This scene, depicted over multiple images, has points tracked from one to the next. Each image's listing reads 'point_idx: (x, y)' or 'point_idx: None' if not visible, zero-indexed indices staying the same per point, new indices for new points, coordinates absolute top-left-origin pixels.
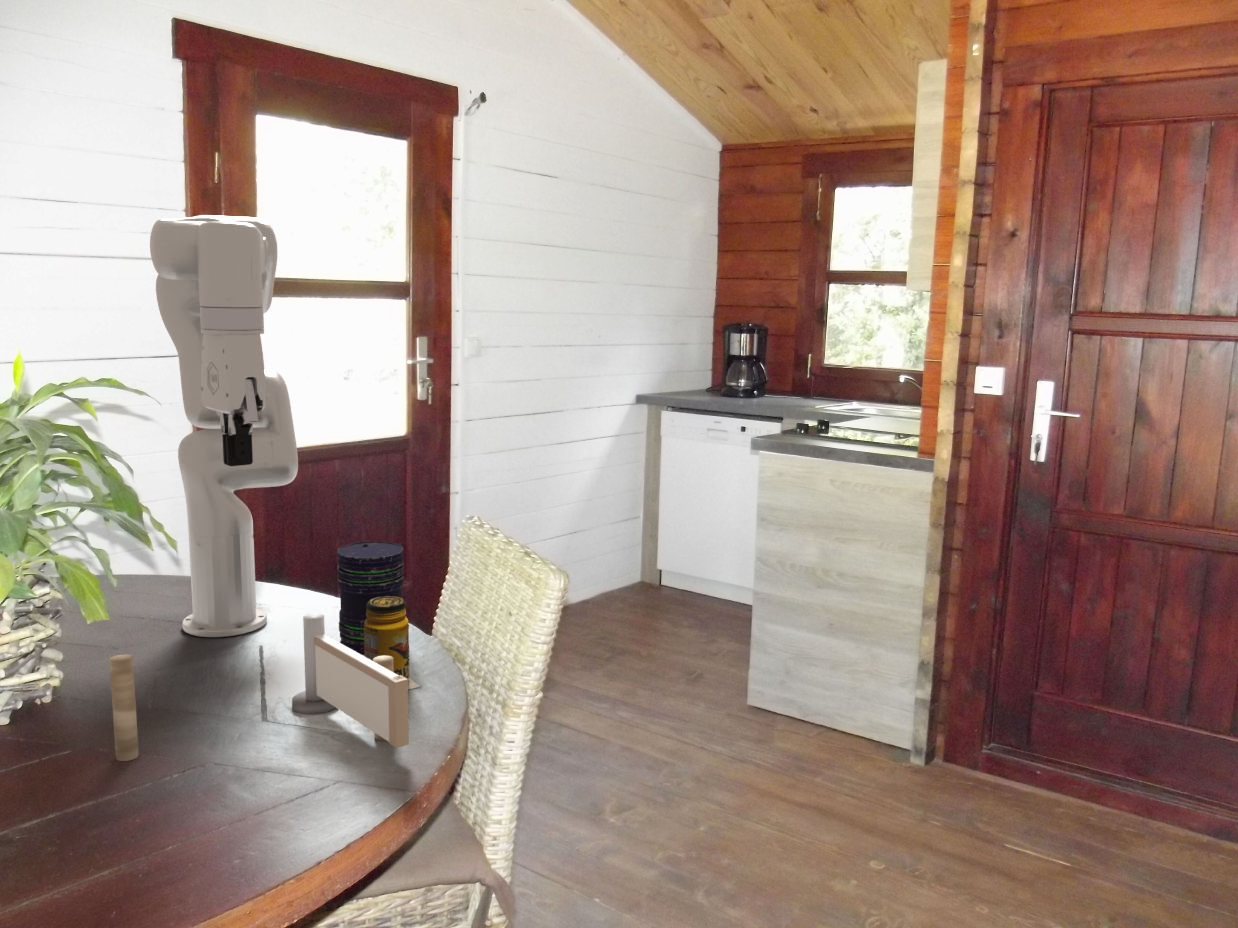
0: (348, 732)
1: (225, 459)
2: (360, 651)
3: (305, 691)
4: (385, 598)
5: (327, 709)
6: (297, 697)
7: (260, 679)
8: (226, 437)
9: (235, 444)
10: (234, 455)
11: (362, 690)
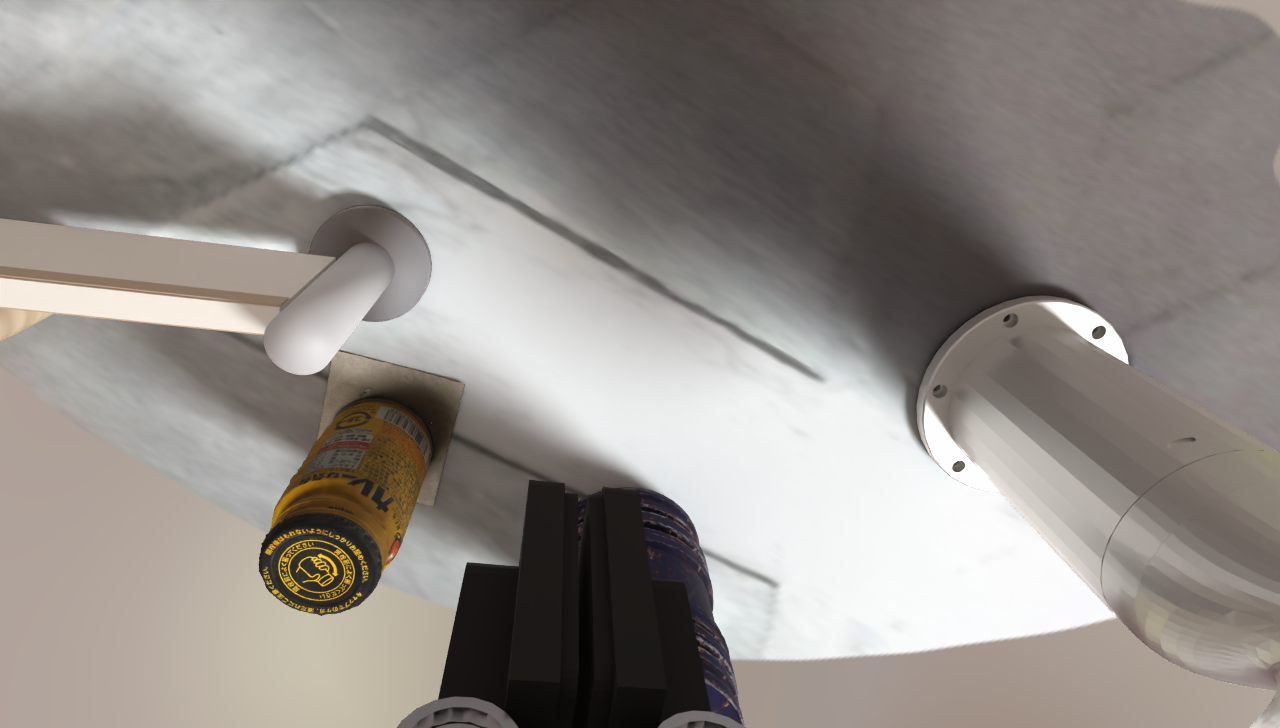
0: (169, 221)
1: (602, 509)
2: (583, 503)
3: (424, 271)
4: (347, 584)
5: None
6: (401, 236)
7: (620, 258)
8: (538, 663)
9: (462, 657)
10: (513, 576)
11: (16, 249)
